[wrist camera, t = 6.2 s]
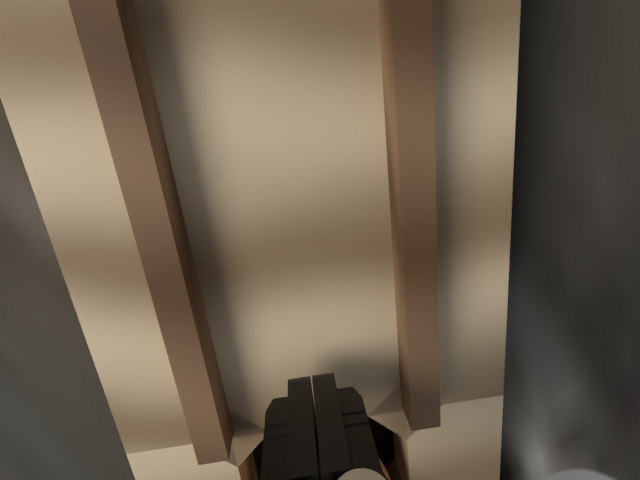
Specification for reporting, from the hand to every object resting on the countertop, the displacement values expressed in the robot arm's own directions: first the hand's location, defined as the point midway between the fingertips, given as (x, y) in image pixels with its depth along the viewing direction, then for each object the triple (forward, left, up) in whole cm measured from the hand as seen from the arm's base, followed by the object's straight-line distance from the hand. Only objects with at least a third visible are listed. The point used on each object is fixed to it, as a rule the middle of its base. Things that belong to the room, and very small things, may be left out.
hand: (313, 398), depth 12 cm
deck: (-1, 0, -4) cm, 4 cm away
